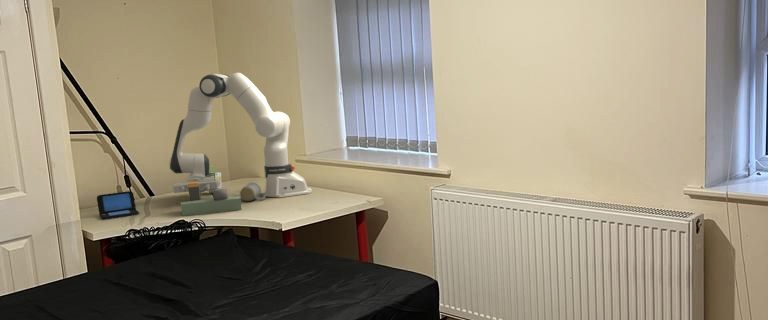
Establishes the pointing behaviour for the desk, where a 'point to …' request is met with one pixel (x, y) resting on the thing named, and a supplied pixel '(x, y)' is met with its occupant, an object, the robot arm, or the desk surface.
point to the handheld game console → (116, 205)
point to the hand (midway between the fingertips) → (195, 189)
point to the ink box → (216, 175)
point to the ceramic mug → (251, 192)
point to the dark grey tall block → (194, 191)
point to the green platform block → (212, 204)
